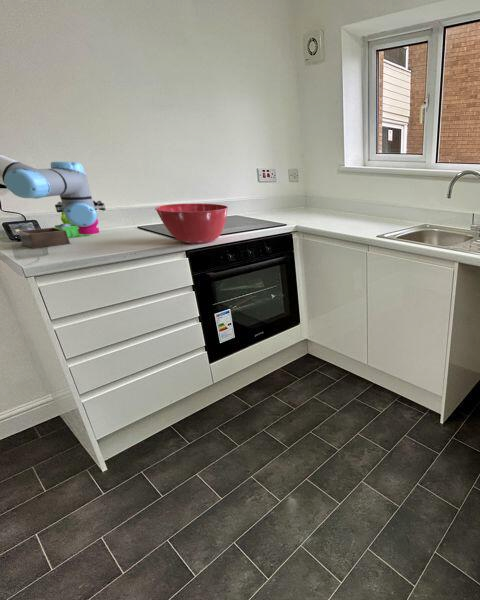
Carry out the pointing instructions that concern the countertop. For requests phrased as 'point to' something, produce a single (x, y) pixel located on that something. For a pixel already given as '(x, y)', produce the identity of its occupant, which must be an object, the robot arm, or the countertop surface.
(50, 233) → the holder
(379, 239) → the countertop surface
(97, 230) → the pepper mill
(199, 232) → the mixing bowl
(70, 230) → the fruit basket
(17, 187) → the robot arm
